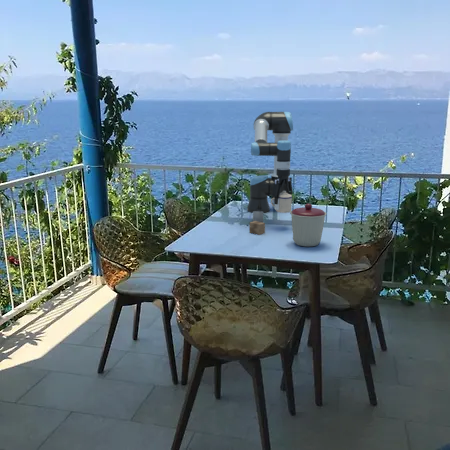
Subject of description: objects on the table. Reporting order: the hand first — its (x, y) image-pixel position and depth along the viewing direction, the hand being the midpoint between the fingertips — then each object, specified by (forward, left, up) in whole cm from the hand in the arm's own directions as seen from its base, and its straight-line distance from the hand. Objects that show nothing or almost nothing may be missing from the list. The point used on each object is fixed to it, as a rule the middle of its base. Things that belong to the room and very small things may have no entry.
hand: (282, 208), depth 268 cm
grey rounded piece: (-15, -3, -12) cm, 19 cm away
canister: (+28, -16, -12) cm, 35 cm away
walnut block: (-4, -17, -12) cm, 21 cm away
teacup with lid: (0, -1, -2) cm, 2 cm away
